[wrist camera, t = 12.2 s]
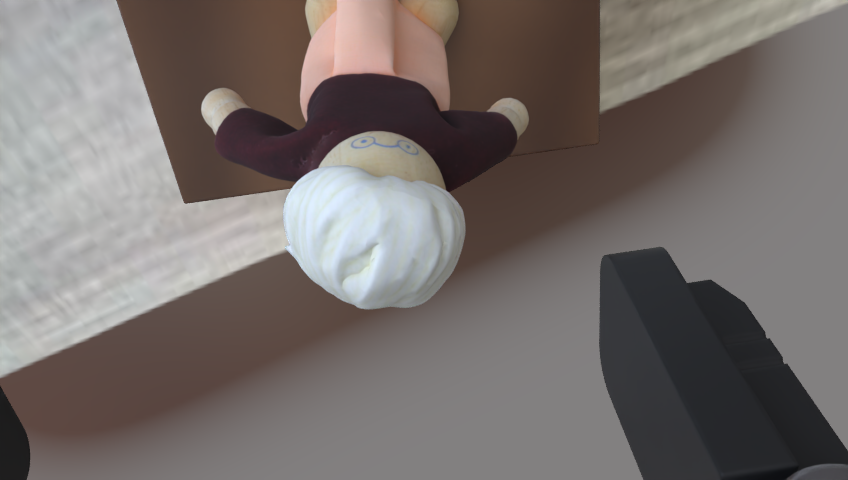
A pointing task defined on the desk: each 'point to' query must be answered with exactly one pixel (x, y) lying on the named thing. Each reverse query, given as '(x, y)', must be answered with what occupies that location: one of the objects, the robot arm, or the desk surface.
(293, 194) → the grandmother figurine
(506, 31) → the rack
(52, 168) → the desk surface
